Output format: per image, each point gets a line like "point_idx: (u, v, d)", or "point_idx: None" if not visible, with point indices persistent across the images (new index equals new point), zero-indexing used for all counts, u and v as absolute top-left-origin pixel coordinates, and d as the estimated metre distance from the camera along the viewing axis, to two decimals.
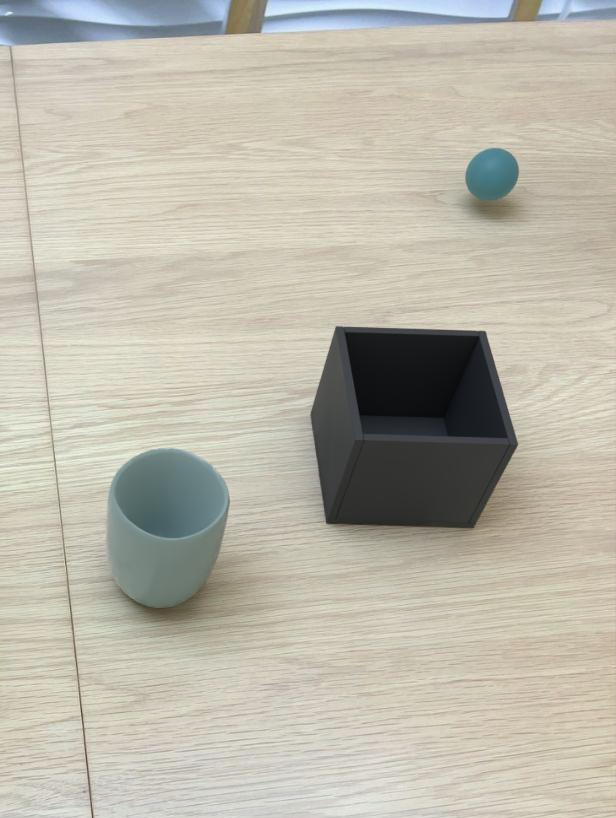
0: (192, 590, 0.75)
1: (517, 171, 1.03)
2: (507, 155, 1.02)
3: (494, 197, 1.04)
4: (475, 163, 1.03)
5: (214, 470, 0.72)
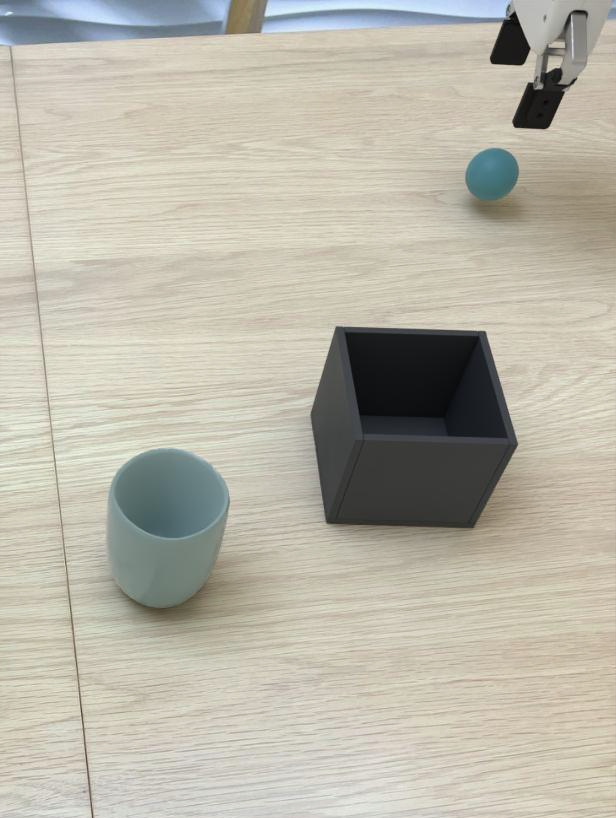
0: (192, 590, 0.75)
1: (517, 171, 1.03)
2: (507, 155, 1.02)
3: (494, 197, 1.04)
4: (475, 163, 1.03)
5: (214, 470, 0.72)
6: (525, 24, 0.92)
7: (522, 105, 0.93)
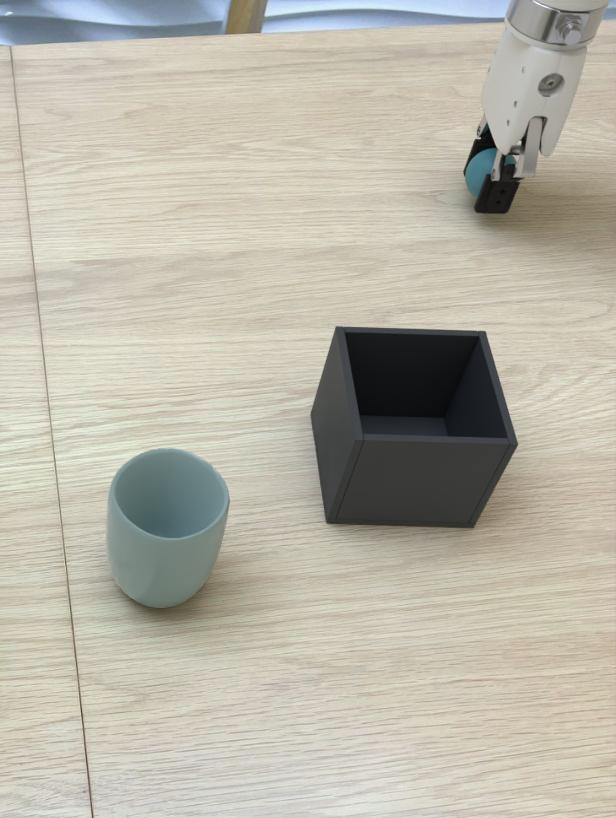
0: (192, 590, 0.75)
1: None
2: (507, 155, 1.02)
3: None
4: (475, 163, 1.03)
5: (214, 470, 0.72)
6: (492, 124, 0.99)
7: (482, 194, 1.03)
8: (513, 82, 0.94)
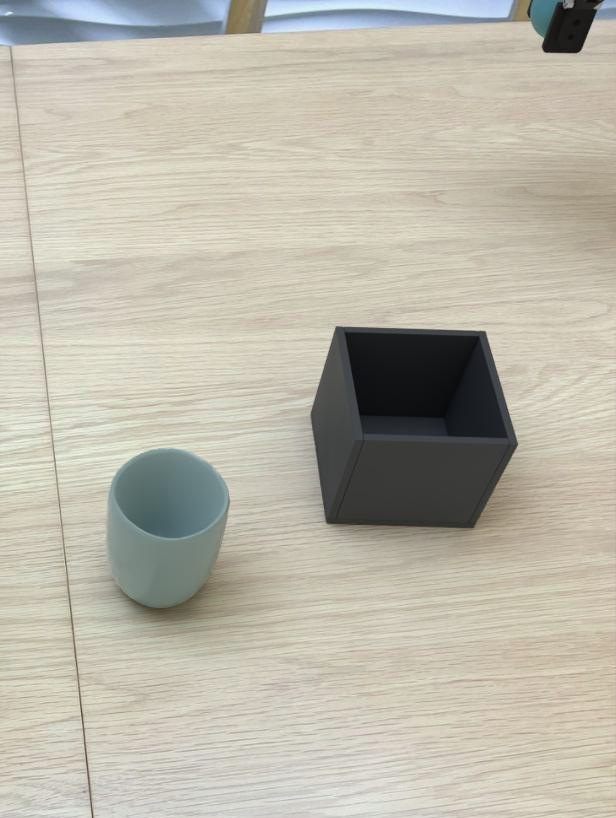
0: (192, 590, 0.75)
1: None
2: None
3: None
4: None
5: (214, 470, 0.72)
6: None
7: (552, 27, 0.89)
8: None
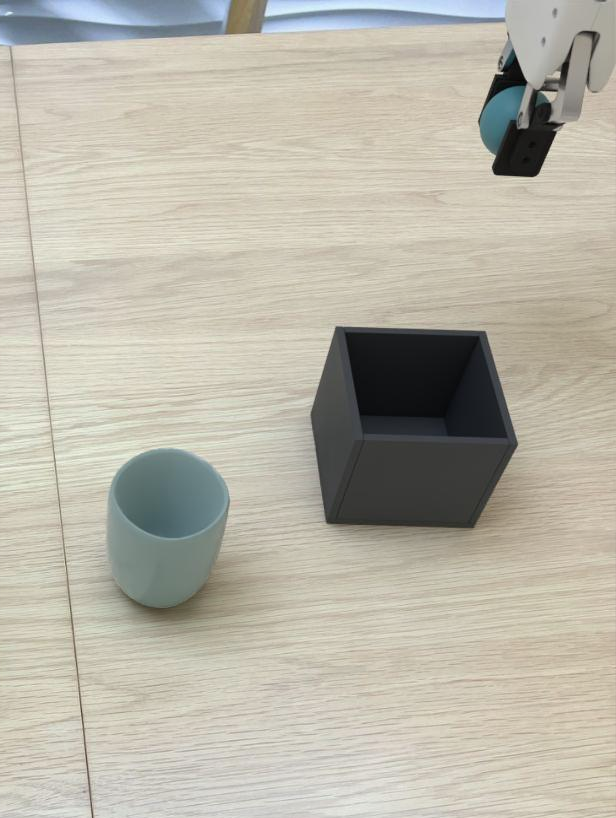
0: (192, 590, 0.75)
1: None
2: None
3: None
4: (494, 106, 0.75)
5: (214, 470, 0.72)
6: (519, 49, 0.71)
7: (503, 148, 0.74)
8: None
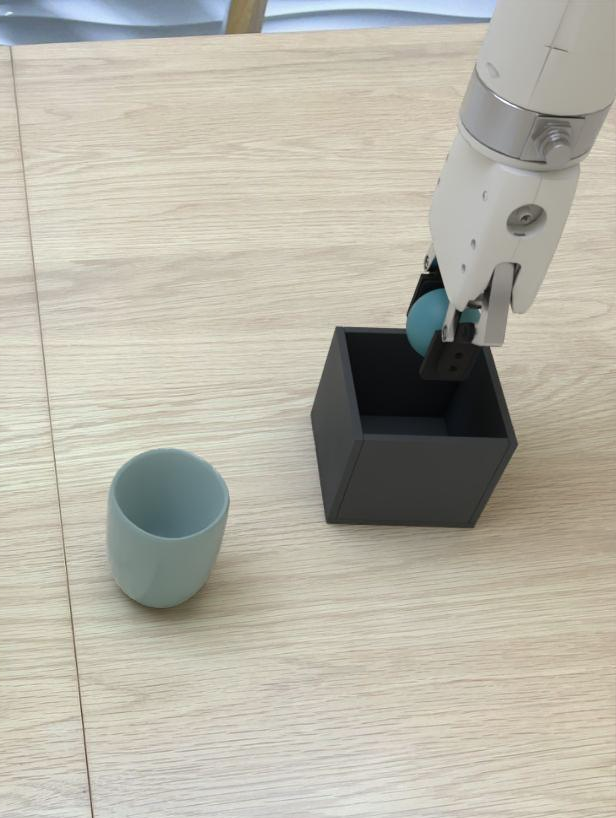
0: (192, 590, 0.75)
1: None
2: None
3: None
4: (419, 311, 0.72)
5: (214, 470, 0.72)
6: (442, 263, 0.68)
7: (430, 356, 0.72)
8: (470, 211, 0.63)
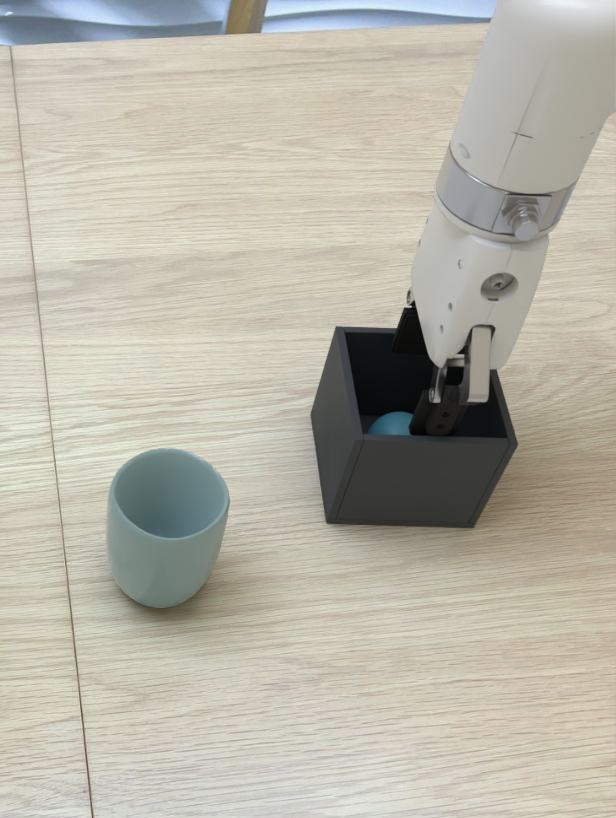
0: (192, 590, 0.75)
1: None
2: None
3: None
4: (376, 433, 0.82)
5: (214, 470, 0.72)
6: (422, 321, 0.72)
7: (418, 414, 0.74)
8: (447, 276, 0.67)
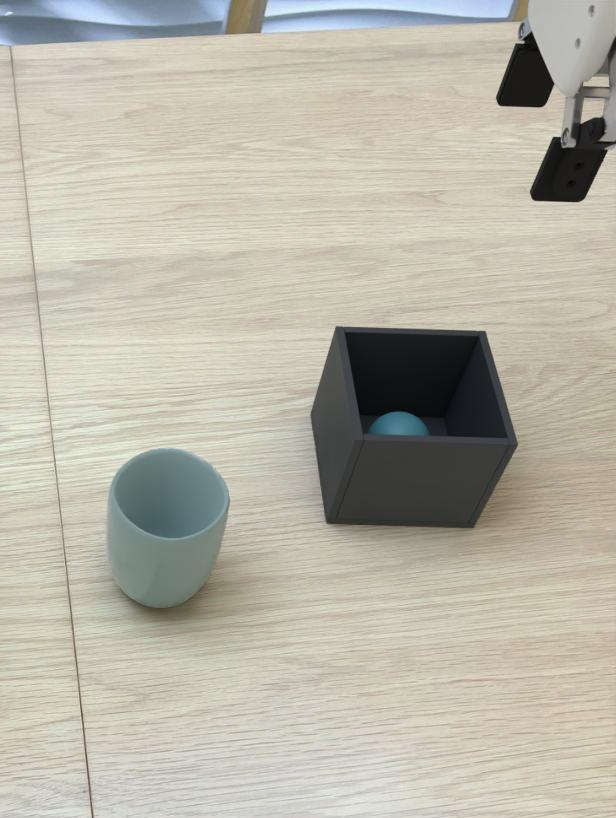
0: (192, 590, 0.75)
1: None
2: (413, 425, 0.81)
3: None
4: (375, 433, 0.82)
5: (214, 470, 0.72)
6: (547, 51, 0.62)
7: (544, 169, 0.63)
8: None
